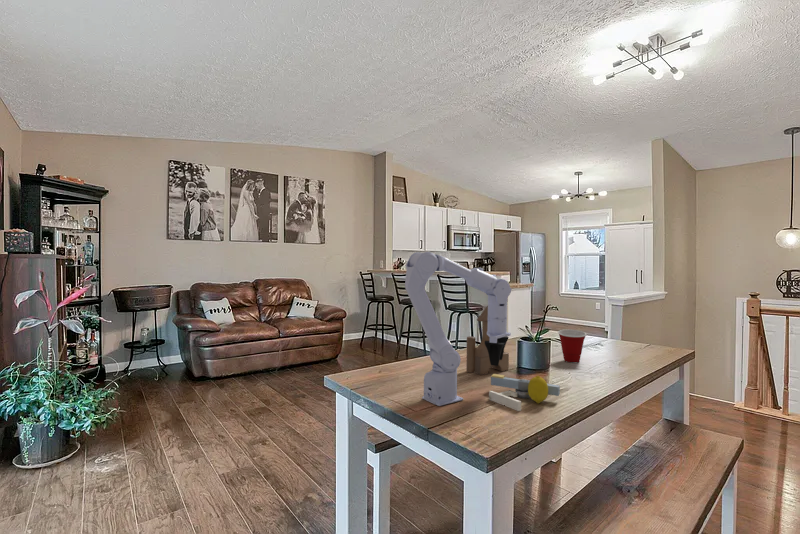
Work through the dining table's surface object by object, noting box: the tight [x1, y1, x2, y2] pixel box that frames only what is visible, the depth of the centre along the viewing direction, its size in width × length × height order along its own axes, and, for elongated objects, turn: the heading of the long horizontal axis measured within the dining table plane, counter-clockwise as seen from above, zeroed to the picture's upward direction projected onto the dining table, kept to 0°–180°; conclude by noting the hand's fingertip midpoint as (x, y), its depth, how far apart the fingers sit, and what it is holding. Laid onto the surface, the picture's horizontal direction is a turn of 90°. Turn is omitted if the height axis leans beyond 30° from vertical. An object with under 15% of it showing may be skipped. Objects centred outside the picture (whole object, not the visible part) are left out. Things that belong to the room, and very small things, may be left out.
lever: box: [490, 373, 561, 397], centre depth 124 cm, size 4×20×3 cm, turn 59°
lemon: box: [528, 375, 549, 405], centre depth 117 cm, size 6×6×8 cm
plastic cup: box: [557, 329, 588, 363], centre depth 166 cm, size 11×11×12 cm
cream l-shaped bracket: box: [488, 389, 522, 412], centre depth 118 cm, size 9×11×2 cm
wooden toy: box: [465, 305, 510, 376], centre depth 151 cm, size 16×7×25 cm, turn 119°
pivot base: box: [514, 389, 531, 400], centre depth 124 cm, size 5×5×2 cm
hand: (496, 362), depth 125 cm, fingers open, 7 cm apart
